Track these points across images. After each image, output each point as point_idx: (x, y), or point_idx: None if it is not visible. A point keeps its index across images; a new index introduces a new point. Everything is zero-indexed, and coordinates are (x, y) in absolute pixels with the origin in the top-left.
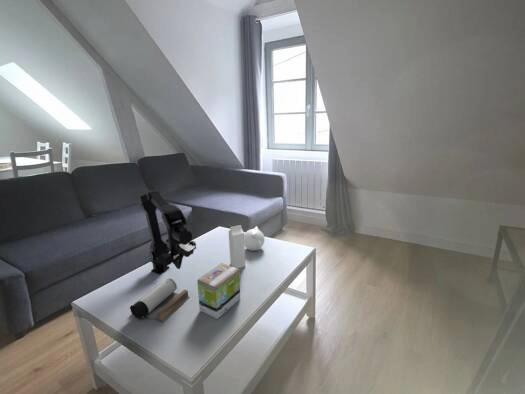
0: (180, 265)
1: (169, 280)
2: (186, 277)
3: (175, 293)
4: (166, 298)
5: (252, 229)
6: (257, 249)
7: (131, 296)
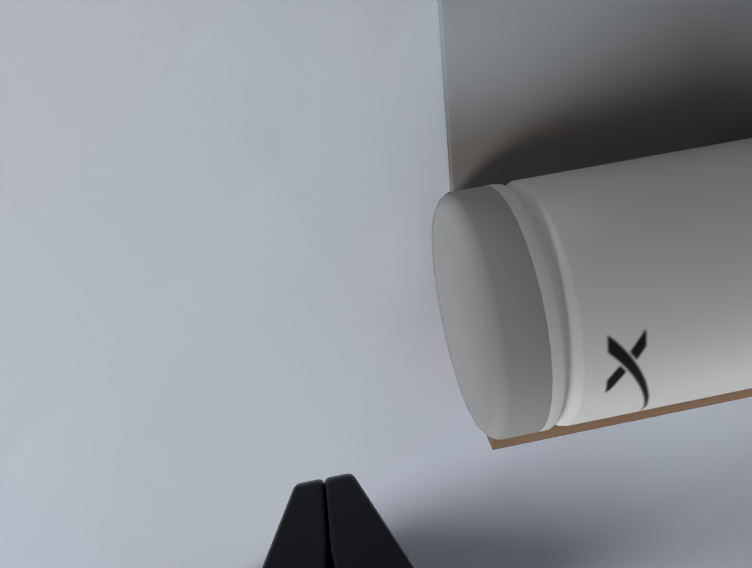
0: (297, 565)
1: (560, 364)
2: (59, 347)
3: (467, 160)
4: None
5: None
6: None
7: (669, 496)
